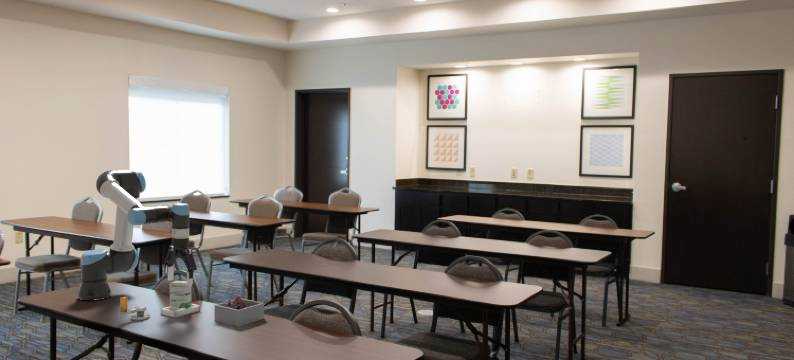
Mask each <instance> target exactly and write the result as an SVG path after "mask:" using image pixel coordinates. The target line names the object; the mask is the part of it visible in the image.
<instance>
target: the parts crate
mask: <svg viewBox="0 0 794 360" xmlns="http://www.w3.org/2000/svg"><path fill="white" fill-rule="evenodd" d="M240 298H241V297H240ZM241 299H242V300H243V301H244V302H245V304H246V307H247V308H244V309H240V310H237V309H232V308H228V307H227V305H226V304H225V302H226V301H224V302H221V303H217V304H214V321H215V322H219V323H221V324H222V323H223V324H227V325H230V326H234V327H238V328H239V327H242V326H244V325H248V324H252V323H254V322H257V321H260V320H261V321H262V320H264V319H265V303H264V302H261V301H256V300H251V299H247V298H241ZM233 301H234V299H232V300H231V299H230V302H231V303H233ZM239 301H240V300H239ZM235 303H236V301H235ZM241 303H242V302H241ZM239 305H240V308H241V307H242V305H241V304H239Z"/></svg>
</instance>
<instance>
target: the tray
mask: <svg viewBox="0 0 794 360" xmlns="http://www.w3.org/2000/svg"><path fill="white" fill-rule="evenodd" d="M200 311H201V305H200V304H195V303H192V306H191V307H189V308H187V309H185V308H170V305H169V306H167V307H162V308H160V315H164V316H166V317H171V318H175V319H176V318H179V317H183V316H187V315H191V314H194V313H197V312H200ZM190 313H191V314H190Z"/></svg>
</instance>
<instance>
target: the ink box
mask: <svg viewBox="0 0 794 360" xmlns="http://www.w3.org/2000/svg"><path fill="white" fill-rule="evenodd" d="M192 304H193V303H192V285H190V286H187V280H186V281H184V280H172V281H170V282H169V306H170V308H185V309H187V308H189V307H191V306H192Z"/></svg>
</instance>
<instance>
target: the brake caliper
mask: <svg viewBox="0 0 794 360" xmlns="http://www.w3.org/2000/svg"><path fill="white" fill-rule="evenodd" d="M242 299H243V298H242ZM242 299H241V297H240V295H237V294H236V296H235V298H234V299H233V300H234V301H233V303H231V302H230V301H231V299H229V298H228V299H227V298H226V300H225V301H224V302H225V304H226V305H227V307H228V308H232V309H237V310H240V309H244V308H247V307H246V304H245V302H244V301H243V300H242ZM239 300H240V301H239ZM235 301H236V303H235ZM241 302H242V303H241ZM239 304H241V305H242V307H241V308H240V305H239Z"/></svg>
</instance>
